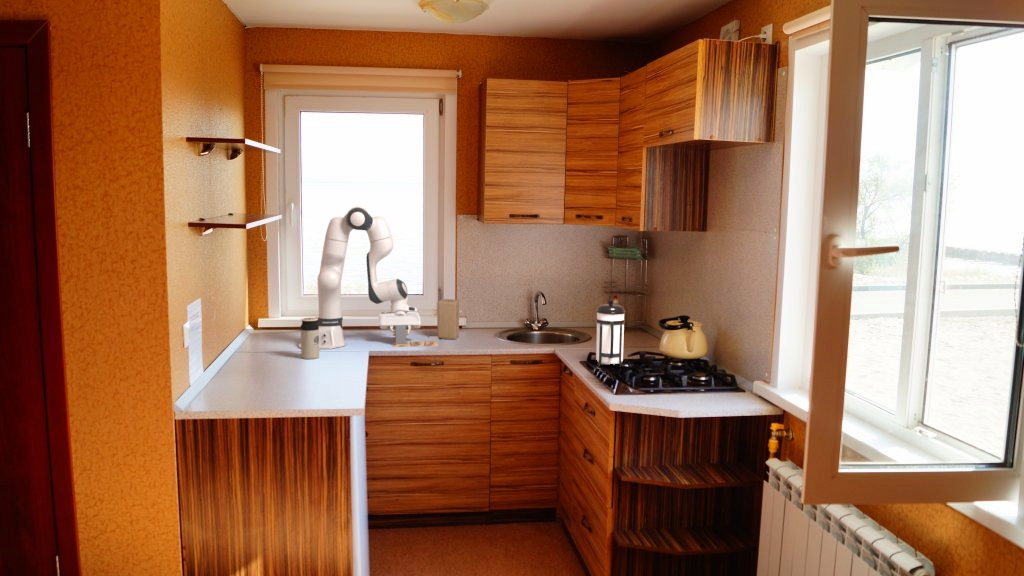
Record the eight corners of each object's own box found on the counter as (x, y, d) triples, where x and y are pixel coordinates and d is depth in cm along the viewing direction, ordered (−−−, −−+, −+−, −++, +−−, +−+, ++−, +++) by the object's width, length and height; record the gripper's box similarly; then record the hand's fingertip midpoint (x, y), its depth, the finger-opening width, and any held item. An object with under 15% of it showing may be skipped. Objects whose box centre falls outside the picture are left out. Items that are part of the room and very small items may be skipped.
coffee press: (583, 364, 342) (585, 298, 338) (609, 360, 351) (611, 295, 348) (611, 371, 328) (613, 302, 325) (637, 367, 338) (639, 300, 334)
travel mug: (297, 357, 349) (296, 319, 347) (311, 355, 355) (310, 316, 353) (309, 360, 344) (308, 320, 342) (322, 357, 351) (322, 318, 349)
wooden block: (459, 336, 408) (459, 299, 406) (455, 339, 398) (456, 301, 396) (440, 335, 409) (440, 298, 407) (437, 339, 399) (437, 301, 397)
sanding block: (395, 345, 373) (395, 327, 372) (395, 343, 378) (395, 325, 377) (406, 345, 374) (406, 327, 373) (405, 343, 379) (405, 325, 378)
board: (393, 349, 370) (392, 346, 369) (392, 345, 381) (392, 342, 381) (438, 348, 374) (438, 345, 374) (436, 344, 386) (436, 341, 385)
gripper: (378, 308, 379) (379, 331, 370) (420, 308, 383) (421, 330, 374) (378, 316, 384) (379, 338, 375) (419, 315, 388) (421, 337, 379)
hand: (400, 334), depth 375 cm, fingers open, 5 cm apart
